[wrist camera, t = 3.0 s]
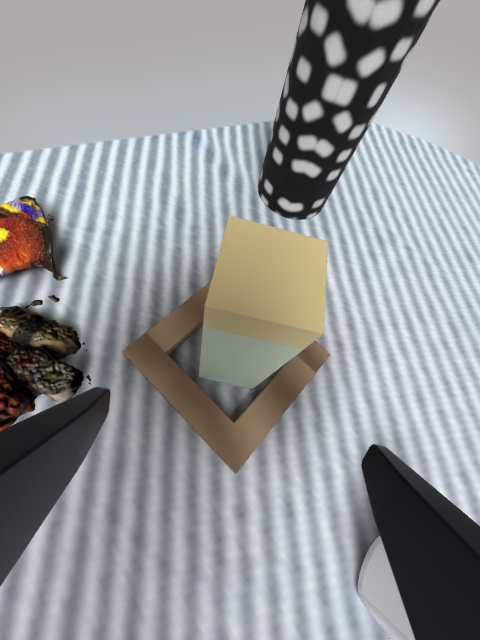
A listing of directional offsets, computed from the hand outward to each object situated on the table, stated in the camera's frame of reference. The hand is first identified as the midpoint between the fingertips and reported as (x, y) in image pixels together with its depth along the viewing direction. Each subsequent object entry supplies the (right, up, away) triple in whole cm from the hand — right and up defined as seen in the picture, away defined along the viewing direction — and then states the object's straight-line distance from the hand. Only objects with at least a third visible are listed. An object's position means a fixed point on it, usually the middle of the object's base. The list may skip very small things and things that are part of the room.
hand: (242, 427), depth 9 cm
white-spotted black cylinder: (+6, +19, +23) cm, 30 cm away
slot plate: (-1, 0, +13) cm, 13 cm away
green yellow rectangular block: (-1, 0, +13) cm, 13 cm away
